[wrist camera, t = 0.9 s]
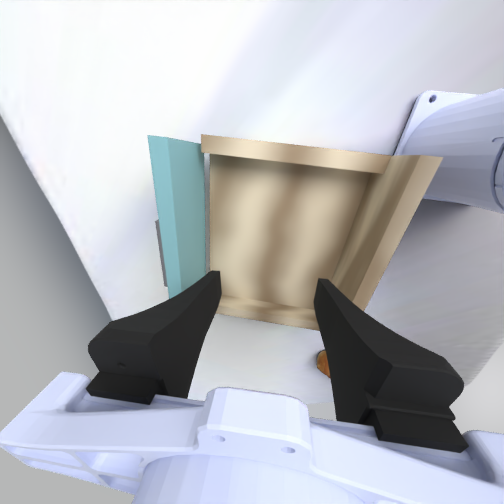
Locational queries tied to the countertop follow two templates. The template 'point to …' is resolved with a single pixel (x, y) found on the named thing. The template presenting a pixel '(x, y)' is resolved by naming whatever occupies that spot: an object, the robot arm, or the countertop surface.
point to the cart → (305, 223)
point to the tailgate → (179, 210)
